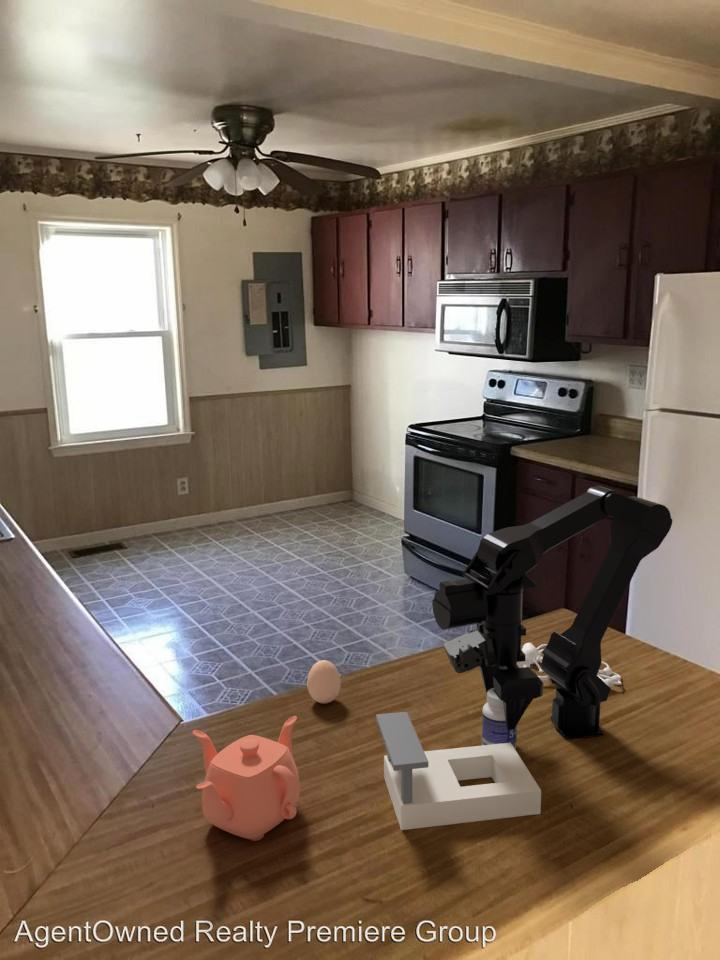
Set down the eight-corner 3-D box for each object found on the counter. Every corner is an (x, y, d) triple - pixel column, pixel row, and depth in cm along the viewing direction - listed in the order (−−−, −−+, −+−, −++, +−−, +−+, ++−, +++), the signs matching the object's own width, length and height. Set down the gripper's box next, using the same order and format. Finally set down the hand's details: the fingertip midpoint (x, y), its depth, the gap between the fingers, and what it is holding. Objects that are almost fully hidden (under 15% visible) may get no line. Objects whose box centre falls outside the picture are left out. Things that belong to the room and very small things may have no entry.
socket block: (508, 762, 117) (510, 701, 115) (541, 816, 105) (544, 749, 103) (376, 776, 114) (375, 714, 112) (394, 833, 102) (393, 765, 100)
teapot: (201, 863, 97) (195, 783, 95) (197, 795, 111) (191, 724, 108) (316, 843, 100) (314, 765, 98) (299, 779, 114) (296, 710, 112)
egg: (330, 713, 133) (329, 671, 131) (301, 705, 135) (300, 664, 134) (347, 698, 137) (346, 657, 136) (318, 691, 140) (317, 651, 139)
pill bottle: (516, 757, 119) (517, 703, 117) (480, 753, 120) (481, 700, 118) (516, 738, 124) (517, 686, 122) (482, 735, 125) (483, 683, 123)
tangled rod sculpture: (630, 677, 147) (632, 656, 146) (611, 704, 134) (613, 681, 134) (529, 652, 156) (531, 633, 156) (503, 676, 144) (505, 654, 143)
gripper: (434, 599, 125) (434, 690, 128) (467, 648, 107) (467, 752, 110) (501, 594, 127) (499, 683, 130) (546, 641, 109) (542, 743, 112)
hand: (500, 713), depth 121 cm, fingers open, 9 cm apart
